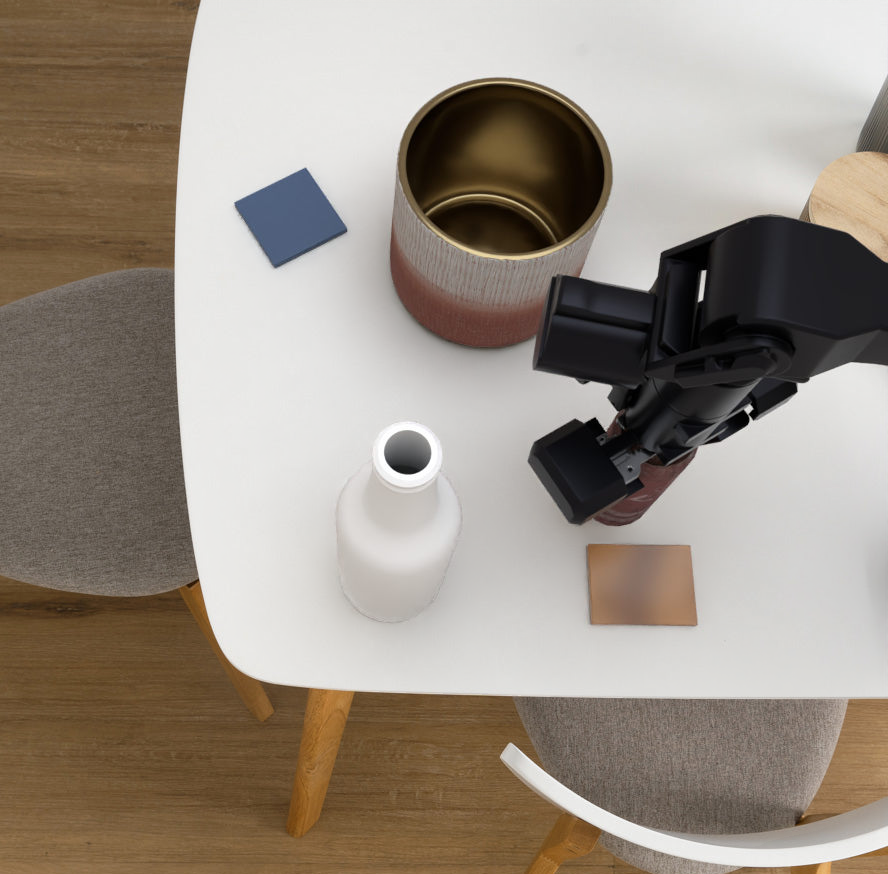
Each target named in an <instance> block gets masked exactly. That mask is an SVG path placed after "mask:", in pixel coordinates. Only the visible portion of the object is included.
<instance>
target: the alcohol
mask: <svg viewBox="0 0 888 874" xmlns="http://www.w3.org/2000/svg"><path fill="white" fill-rule="evenodd" d="M442 463H443V448H442V444H441V441H440V440H439V438H438V437H437V435H436V434H435V432H433V431H432V430H431V429H430V428H429V427H427V426H426V425H424V424H421V423H418V422H414V421H399V422H395V423H393V424H390V425H388V426H387V427H385V428H384V429H383V430H382V431H381V432H380V433H378V435H377V436H376V438H375V440H374V442H373V446H372V456H371V460H369V461H368V462H366V463H365V464H363V465H362V466H360V467H359V468H358V469H357V470H356V471H355V472H354V473H353V474H352V475H351V476H350V477H349V478H348V480H347V481H346V482H345V484H344V485H343V486H342V489H341V491H340V493H339V495H338V498H337V500H336V506H335V511H334V517H335V518H334V520H335V521H334V522H335V535H336V549H337V559H338V560H337V561H338V572H339V581H340V585H341V589H342V591H343V592H344V595H345V597H346V599H347V600H348V601H349V602H350V604H351V605H352V606H353V607H354V608H355V609H356V610H357V611H358V612H360V613H361V614H363V615H364V616H366V617H367V618H370V619H373V620H375V621H378V622H385V623H399V622H404V621H407V620H410V619H413V618H415V617H417V616H419V615H420V614H421V613H423V612H424V611H425V610H427V609H428V608H429V607H430V606H431V604H432V603H434V601H435V599H436V597H437V596H438V594H439V592H440V589H441V587H442V583H443V581H444V578H445V575H446V573H447V571H448V568H449V565H450V562H451V560H452V558H453V557H452V556H453V554H454V551H455V549H456V546H457V545H458V544H457V543H458V541H459V538H460V535H461V531H462V525H463V511H462V506H461V501H460V499H459V496H458V494H457V493H458V492H457V491H456V489H455V488H454V486H453V484H452V482H451V481H450V479H449V478H448V477H447V476H446V474H445V472H443V471H442V470H441V466H442Z"/></svg>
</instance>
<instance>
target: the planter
mask: <svg viewBox="0 0 888 874" xmlns="http://www.w3.org/2000/svg"><path fill="white" fill-rule="evenodd" d="M398 145H399V146H398V149H397V156H396V167H395V169H396V170H395V183H394V194H393V195H394V196H393V207H392V217H391V218H392V220H391V231H390V243H389V264H390V265H389V266H390V274H391V278H392V282H393V285H394V286H393V287H394V289H395V290H396V293H397V295H398V298H399V299H400V301H401V302H402V304H403V305H404V307H405V308H406V310H407V311H408V312H409V313H410V315H411V316H412V317H413V318H414V319H415V320H416V321H417V322H418V323H419V324H421V325H422V326H423V327H425V328H426V329H427V330H429V331H431V332H432V333H434V334H435V335H437V336H438V337H441V338H443V339H445V340H448V341H450V342H452V343H456V344H460V345H464V346H468V347H469V346H470V347H474V348H500V347H501V348H502V347H505V346H510V345H515V344H517V343H521V342H524V341H526V340H528V339H531V338H532V337H534V336H537V332H538V327H539V323H540V318H541V314H542V309H543V305H544V301H545V297H546V294H547V290H548V287H549V284H550V281H551V278H552V276H554V277H556V275H557V274H561V275H568V276H573V277H579V278H580V277H581V274H582V271H583V268H584V266H585V263H586V260H587V258H588V255H589V253H590V250H591V247H592V246H593V245H592V244H593V242H594V239H595V237H596V235H597V233H598V229H599V228H600V225H601V222H602V220H603V217H604V216H605V212H606V210H607V207H608V205H609V202H610V198H611V196H612V191H613V186H614V165H613V160H612V155H611V151H610V148H609V145H608V143H607V140H606V137H605V136H604V135H603V132H602V131H601V129H600V128H599V126H598V125H597V124H596V122H595V121H594V120H593V118H592V117H591V116H590V115H589V114H588V112H587V111H585V110H584V108H582V107H581V106H580V105H579V104H577V102H575V101H574V100H573V99H571V98H569V97H568V96H566V95H565V94H563V93H561V92H559V91H558V90H555V89H553V88H551V87H549V86H547V85H544V84H542V83H538V82H534V81H531V80H528V79H522V78H515V77H506V76H505V77H501V76H496V77H483V78H475V79H472V80H468V81H464V82H461V83H457V84H455V85H452V86H451V87H448V88H446V89H444V90H442V91H441V92H439V93H437V94H436V95H434V96H433V97H432V98H430V99H429V100H427V102H425V103H424V104H423V105H422V106H421V107H420V108H419V109H418V110H417V111H416V113H414V115H413V116H412V118H411V119H410V121H409V122H408V124H407V126H406V127H405V129H404V132H403V134H402V136H401V139H400V142H399V144H398Z"/></svg>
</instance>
